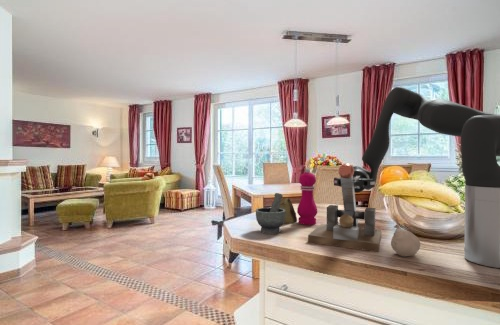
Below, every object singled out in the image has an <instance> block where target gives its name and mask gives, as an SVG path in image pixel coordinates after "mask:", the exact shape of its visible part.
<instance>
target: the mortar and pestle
mask: <svg viewBox="0 0 500 325" xmlns="http://www.w3.org/2000/svg"><path fill="white" fill-rule="evenodd" d="M283 198H284V195H282V193H280V192H274V199H273V200H272V203H271V206H270V207H260V208H256V209H255V218H256V221H257V224H258V225H259V227H260V233H263V234H267V235H276V234H280V233H281V231H280V227H282V225H283V224H284V223H283V222H284V220H285V212H286V211H285V209H280V208H279V207H280V202H281V199H283Z"/></svg>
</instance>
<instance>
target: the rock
mask: <svg viewBox="0 0 500 325" xmlns="http://www.w3.org/2000/svg"><path fill="white" fill-rule="evenodd" d="M279 208H280V209H285V211H286V212H285V220H284V222H283V224H294V223H298V216H297V213H296V212H297V211H295V208H294V205H293V203H292V201H291V199H290V197H282V199H281V202H280V207H279Z"/></svg>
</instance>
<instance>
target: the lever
mask: <svg viewBox="0 0 500 325" xmlns="http://www.w3.org/2000/svg"><path fill="white" fill-rule="evenodd" d="M353 167H354V166H353V165H351V164H350V163H343V164H341V165H340V166H339V167H338V170H337V171H338V175H339V176H340V177H339V178H341V187H340V188H341V194H342V202H343V209H338V210H337V217H338V218H340V217H341V216H342V215H345V214H347V215H350V216H351V217H352V218H353V225H352V226H355V227H358V226H359V224H358V223H359V220H365V211H359V210H357V204H356V193H355V192H354V181H353V174H354V168H353Z"/></svg>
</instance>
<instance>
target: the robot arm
mask: <svg viewBox="0 0 500 325" xmlns="http://www.w3.org/2000/svg"><path fill="white" fill-rule="evenodd" d="M394 114H396V115H397V116H401V117H403V118H408V119H412V120H416V121H418V122H419V123H420V125H421V126H423V127H425V128H426V129H428V130H431V131H433V132H435V133H437V134H442V135H447V136H451V137H452V136H453V137H459V138H460V152H461V154H460V155H461V171H462V174H463V176H464V180H465V182H464V184H465V186H464V245H463V246H464V247H463V248H464V249H463V251H464V255H463V257H464V258H465V260H467V261H469V262H471V263H474V264H477V265H481V266H485V267H490V268H496V269H500V165H499V162H498V159H497V157H500V113H499V114H497V113H492V112H485V111H482V110H479V109H476V108H473V107H470V106H468V105H463V104H461V103H458V102H455V101H451V100H449V99H448V100H447V99H444V98H438V97H437V98H430V99H429V98H427V97H425V96H423V95H421V94H419V93H417V92H415V91H414V90H411V89H408V88H406V87H403V86H399V85H398V86H395V87H394V88H392V89H391V90H390V91H389V92H388V95H387V96H386V98H385V100H384V103H383V105H382V108H381V111H380V114H379V117H378V120H377V122H376V125H375V129H374V132H373V134H372V136H371V139H370V141H369V143H368V145H367V147H366V149H365V150H364V153H363V155H362V157H361V161H362V162H363V163H365V165H367V166H368V167H369V168H370V171H369V170H367V169H365V168H363V167H362V166H361V167H360V166H359V165H354V166H352V167H353V168H354V174H353V181H354V192H355V194H356V193H357V194H358V193H361V192H363V191H364V190H367V191H368V190H371V189H373V188H375V187H376V183H377V180H378V179H377V178H378V173H379V169H380V166H381V163H382V162H383V160H384V159H385V157H386V154H387V153H388V150H389V147H390V123H391V122H390V121H391V119H392V116H393V115H394ZM333 186H335V187H340V188H342V187H341V178H340V177H334V178H333Z"/></svg>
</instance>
